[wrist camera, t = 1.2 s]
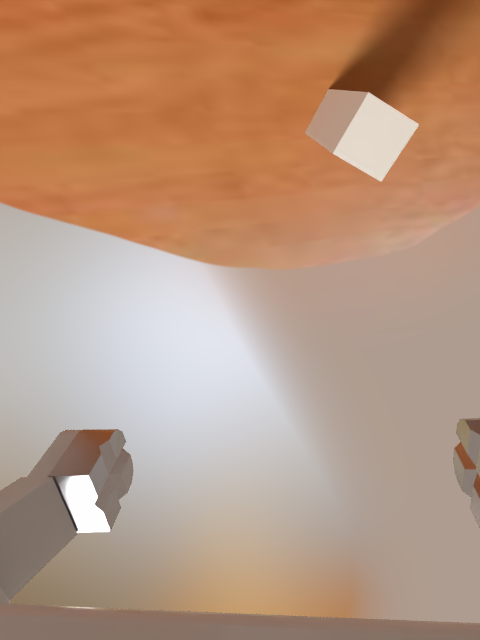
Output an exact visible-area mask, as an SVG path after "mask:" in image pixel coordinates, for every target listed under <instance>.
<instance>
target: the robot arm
mask: <svg viewBox="0 0 480 640" xmlns="http://www.w3.org/2000/svg"><path fill="white" fill-rule="evenodd" d="M456 433H457V435H458V437H459V439H460V441H461V442H460V443H459V444H458V445H457V446H456V447H455V448H454V458H453V460H454V468H455V474H456V476H457V480H458V482H459V485H460V487H461V489H462V491H463V492H465V493H466V494H467V495H469V496H470V497H471V498H472V499H471V506H470V508H471V511H472V513H473V515H474V517H475V519H476V521H477V523H478V525H479V527H480V418H473V419H460V420H459V422H458V424H457V430H456ZM125 442H126V441H125V438H124V435H123V433H122V431H120V430H118V429H116V430H65V431H63V432H61V433H60V434H59V435H58V436H57V438H56V439H55V440H54V442H53V443H52V444H51V446H50V447H49V448H48V450H47V451H46V452H45V454H44V455H43V456H42V458H41V459H40V461H39V462H38V463H37V465H36V466H35V467H34V468H33V470H32V471H31V473H30V474H29V475H28V476H27V477H24V478H20V479H18V480H16V481H15V482H13V483H12V484H10V485H9V486H7V487H5V488H4V489H2V490H1V491H0V640H480V623H459V622H434V621H433V622H432V621H408V620H383V619H382V620H381V619H358V618H332V617H307V616H283V615H260V614H237V613H236V614H235V613H213V612H212V613H211V612H189V611H166V610H165V611H164V610H141V609H117V608H92V607H91V608H90V607H68V606H43V605H18V604H11V602H10V600H11V599H12V598H13V597H14V596H15V595H16V594H17V593H18V592H19V591H20V590H21V589H22V588H23V587H24V586H25V585H26V584H27V583H28V582H29V581H30V580H31V579H32V578H33V577H34V576H35V575H36V574H37V573H38V572H39V571H40V570H41V569H42V568H43V567H44V566H45V565H46V564H47V563H48V562H49V561H50V560H52V558H54V557H55V556H56V555H57V554H58V553H59V552H60V551H61V550H62V549H63V548H64V547H65V546H66V545H67V544H68V543H69V542H70V541H71V540H72V539H73V538H74V537H75V536H76V535H77V532H104V531H105V532H106V531H111V529H112V527H113V524H114V522H115V520H116V518H117V515H118V513H119V511H120V509H121V506H120V504H119V501H118V500H119V499H120V498H121V497H123V496H124V495H125V494H126V493H127V492H128V490H129V488H130V485H131V483H132V476H133V463H132V459H131V456H130V454H129V453H127V452H126V451H125V450H124V449H123V446H124V444H125Z"/></svg>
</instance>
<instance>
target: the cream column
mask: <svg viewBox="0 0 480 640" xmlns="http://www.w3.org/2000/svg"><path fill="white" fill-rule="evenodd" d="M418 126H419V124H417V123H416V122H414V121H413V120H411V119H410V118H408V117H406V116H405V115H403V114H402V113H400V112H399V111H397V110H396V109H394V108H392V107H391V106H389V105H388V104H386V103H385V102H383V101H382V100H380V99H378V98H377V97H375V96H374V95H372V94H371V93H369V92H360V91H347V90H334V89H328V91H327V93H326V95H325V97H324V98H323V100H322V102H321V104H320V106H319V108H318V109H317V111H316V113H315V115H314V117H313V119H312V121H311V122H310V124H309V126H308V128H307V130H306V132H305V134H307V135H308V136H309V137H311V138H312V139H314V140H315V141H316V142H318V143H319V144H320V145H322V146H323V147H324V148H326V149H327V150H329V151H330V152H331V153H333V154H334V155H336V156H338V157H339V158H341V159H343V160H345V161H346V162H348V163H350V164H351V165H353V166H355V167H357V168H358V169H360V170H362V171H364V172H365V173H367V174H369V175H370V176H372V177H374V178H376V179H377V180H379V181H382V180H383V178H384V177H385V175H386V174H387V172H388V171H389V169H390V168H391V166H392V165H393V163H394V162H395V160H396V159H397V157H398V156H399V154H400V153H401V151H402V150H403V148H404V147H405V145H406V144H407V142H408V141H409V139H410V138H411V136H412V135H413V133H414V132H415V130H416V129H417V127H418Z"/></svg>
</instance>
